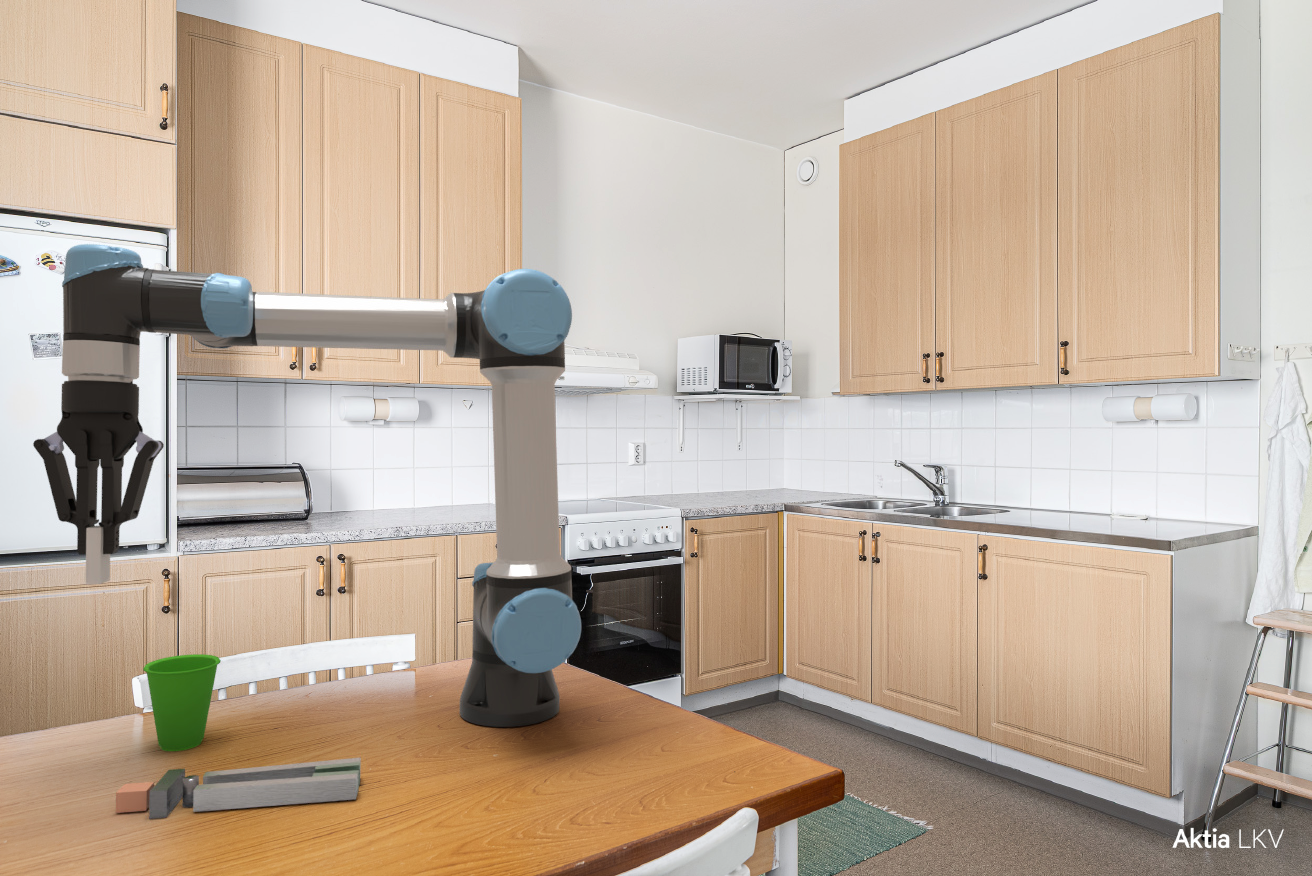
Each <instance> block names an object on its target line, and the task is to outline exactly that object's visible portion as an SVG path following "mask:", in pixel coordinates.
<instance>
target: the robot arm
mask: <svg viewBox="0 0 1312 876" xmlns="http://www.w3.org/2000/svg"><path fill="white" fill-rule="evenodd" d="M64 261H65V264H64V275H63V280H62V283H61V286H62V290H63V291H62V292H63V293H62V295H63V297H62V298H63V301H62V308H63V311H62V312H63V313H62V315H63V317H62V318H63V326H62V327H63V329H62V330H63V334H62V336H63V337H62V338H63V339H62V340H63V341H62V354H61V355H62V357H61V358H62V359H61V374H62V375H63V376H64V377H67V379H68V380H64V381H63V383H61V419H60V421H59V423H58V424H57V426H56V431H55V432H53V433H52V434H50V435H48V436H47V437H45V438H37V439H35V440H34V441H33V444H32V446H33V447H34V449H35V451H36V452H37V453H38V454H39V456H40V457H41V458H42V461H43V464H44V467H45V471H46V476H47V480H48V484H49V488H50V491H51V495H52V500H53V502H54V506H55V510H56V514H57V517H58V520H59V521H60V522H62V523H63V522H66V523H69V524H72V525H74V526H75V528H76V529H77V533H76V534H77V536H76V537H77V538H76V539H77V540H76V541H77V542H76V545H77V546H76V548H77V549H76V550H77V553H78V555H79V556H80V555H82V556H83V555H85V585H101V584H104V583H107V582H109V581H110V580H111V555H113V554H116V553H119V552H118V551H119V550H120V528H121V525H122V524H123V523H127V522H129V521H133V520H135V519H136V520H137V518H138V516H139V514H140V510H141V506H142V502H143V500H144V496H145V492H146V490H147V489H146V488H147V486H148V482H149V479H150V476H151V471H152V469H153V465H154V463H155V462H154V461H155V459H156V458H157V457H158V455H159V454H160V453H161V451H162V450H163V449H164V442H163V441H162V440H155V439H153V438H152V437H151V436H148V435H147V434H146V433H144V430H143V426H142V424H141V423H140V420H139V413H140V412H139V411H140V405H139V404H140V387H139V386H138V384H137V383H134V380H137V379H139V377H140V355H141V354H140V352H141V351H140V350H141V349H140V347H141V346H140V345H141V341H140V338H141V333H142V332H144V333H145V332H146V333H151V334H152V333H153V334H156V333H157V334H159V333H161V334H174V335H187V336H191V337H192V338H193V340H195V341H196V342H197V343H199V344H201V345H202V346H204V347H208V348H211V349H228V348H232V347H274V348H275V347H278V348H280V347H281V348H282V347H283V348H316V349H317V348H321V349H356V350H357V349H364V350H365V349H366V350H399V351H400V350H403V351H405V350H406V351H407V350H408V351H409V350H410V351H443V352H444V353H445V354H447V356H448V357H449V358H452V359H455V358H457V359H459V358H460V359H474V360H479V372H480V374H481V375H482V376H483V377H484V378H485V379H486V380H487V381H489V383H490V385H491V404H492V405H491V406H492V432H493V433H492V435H493V463H494V464H493V466H494V471H493V472H494V494H495V495H494V496H495V497H494V499H495V500H494V502H495V527H496V528H495V530H496V531H495V534H496V559H495V561H494V562H482V563H479V564H478V565H477V566H476V567H475V568H474V572H473V580H472V583H471V585H472V587H473V596H472V597H473V601H472V605H473V606H472V608H473V609H472V657H471V658H472V659H471V660H472V661H471V665H470V667H469V671H468V673H467V676H466V680H465V683H464V686H463V688H462V692H461V694H460V697H459V716H460V717H461V718H462V719H464V721H467V722H469V723H472V724H475V725H478V726H480V725H481V726H484V727H494V728H512V727H514V728H515V727H522V726H529V725H533V724H539V723H542V722H545V721H548V720H551V718H554V717H555V716H556V715H557V714H558V713H559V712H560V698H561V697H560V692H559V690H558V685H557V682H556V679H555V676H554V673H553V670H554V669H556V668H557V667H560V665H562V664H563V663H564V662H566V660H567V659H568V658H570V657H571V655H572V654H573V653H574V651H575V650H576V648H577V647H578V643H580V642H579V641H580V638H581V633H582V619H581V615H580V612H579V610H578V606H577V604H576V603H575V601H574V600H573V586H572V584H573V582H572V566H571V564H569V562H568V561H566V560H565V559H564V558H563V557H562V555H561V553H560V551H561V549H560V548H561V547H560V524H559V523H560V517H559V514H560V513H559V486H558V482H559V481H558V455H557V454H558V452H557V449H558V448H557V424H556V423H557V421H556V420H557V418H556V416H557V415H556V388H555V387H556V386H555V384H556V382H557V381H558V379H559V378H560V377H561V376H562V375H563V374H564V373H565V371H566V355H565V354H566V353H565V351H566V348H565V340H566V339H567V337H568V335H569V333H570V329H571V325H572V321H573V310H572V305H571V302H570V298H569V296H568V294H567V292H566V290H565V289H564V288H563V286H562V285H561V284H559V282H558V281H557V280H555V279H554V278H553V277H552V276H551V275H548V274H547V273H545V272H542V271H540V270H537V269H532V268H518V269H514V270H510V271H508V272H504V273H502V274H500V275H498V276H496V277H495V278H494V279H492V281H490V283H488V285H487V287H486V288H485V290H481V291H480V290H479V291H475V292H463V293H461V292H449V294H447V296H445V297H444V298H442V299H441V298H439V299H438V298H416V297H413V298H412V297H392V296H373V295H371V296H368V295H346V294H345V295H344V294H343V295H341V294H320V293H319V294H318V293H299V292H296V293H295V292H275V291H274V292H272V291H253V286H252V284H251V282H250V281H249V279H247V278H246V277H243V276H238V275H229V274H224V273H222V272H215V273H210V272H209V273H205V272H195V271H194V272H193V271H191V272H189V271H178V270H177V271H175V270H174V271H173V270H162V269H161V270H160V269H154V268H152V269H150V268H148V267H144V265H143V264H142V258H141V256H140V254H139V253H138V252H136V251H135V250H134V251H133V250H131V249H129V248H123V247H120V246H111V245H105V244H95V243H93V244H92V243H89V244H88V243H85V244H78V245H74V246H71V247H70V248H68V250H67V251H66V254H65V260H64ZM135 444H136V446H135V451H136V452H137V454H136V456H135V459H134V461H133V465H132V467H131V468H132V469H131V473H130V475H129V479H128V482H127V486H126V488H125V493H124V497H123V498H122V491H123V482H122V481H123V467H124V464H125V462H124V461H125V456H126V455H127V454H128V452H129V451H130V450H131V449H132V447H134V445H135ZM65 445H66V447H67V448H68V449H69V450H70V452H71V453H72V454H73V455H74V466H75V469H76V493H75V491H74V488H73V484H72V480H71V475H70V472H69V468H68V464H67V460H66V456H65V454H64V453H63V452H64V450H65ZM99 467H100V468H101V506H100V508H101V509H100V510H101V511H100V513H101V514H100V518H101V519H100V518H99V519H97V516H98V515H97V514H98V509H97V508H98V473H99V472H98V471H99ZM75 494H76V495H75ZM122 499H123V500H122Z"/></svg>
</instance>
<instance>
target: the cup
mask: <svg viewBox="0 0 1312 876" xmlns="http://www.w3.org/2000/svg"><path fill="white" fill-rule="evenodd" d="M220 663H221V659H220V657H218V656H216V655H213V654H204V653H203V654H199V653H196V654H182V655H173V656H168V657H167V656H166V657H163V658H158V659H155V660H153V661H150V662H148V663H146V664H145V665H144V666H143V671H144V672H145V673H146V676H147V681H148V688H149V689H148V690H149V695H150V702H151V707H152V713H153V719H154V724H155V725H154V726H155V730H156V737H157V743H158V746H159V749H160V750H162V751H165V752H180V751H186V750H187V751H188V750H190V749H193V748H196V747H198V746H200V745H201V744H202V741H203V740H204V738H205V733H206V728H207V723H208V716H209V711H210V707H211V701H212V695H213V691H214V685H215V681H216V680H215V679H216V674H217V670H218V669H217V668H218V665H220Z"/></svg>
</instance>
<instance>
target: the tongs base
mask: <svg viewBox="0 0 1312 876" xmlns="http://www.w3.org/2000/svg"><path fill="white" fill-rule="evenodd" d="M359 786H360V785H359V770H354V771H339V772H325V773H313V776H312V777H301V778H287V779H273V780H259V781H245V782H231V783H217V784H203V783H202V784H200V776H199V775H198V774H191V775H187V776H186V768H176V769H175V768H173V769H168V770H167V771H166V772H165V774H164V775H163V776H162V777H161V778H160V779H159V781H157V782H156V784H154V787H153V788H152V789H151V790H150V802H149V808H148V810H149V811H148V814H149V815H148V819H149V820H154V819H164V818H165V819H166V818H168V816H170V814H171V812H172V811H173V810H174V809H175V808H176V806H177V805H178V804H179V803H180V801H181V800H182V801H181V802H182V803H181V804H182V805H181V807H182V808H187V809H188V808H192V812H193V813H194V812H195V813H196V812H209V811H222V810H223V811H224V810H231V809H232V810H233V809H234V810H235V809H247V808H248V809H249V808H258V807H259V808H260V807H271V806H272V807H273V806H284V805H285V806H286V805H288V806H289V805H298V804H308V803H309V804H310V803H311V804H312V803H325V802H338V801H347V800H348V801H352V800H357V796H358V792H359Z"/></svg>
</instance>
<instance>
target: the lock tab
mask: <svg viewBox="0 0 1312 876" xmlns="http://www.w3.org/2000/svg"><path fill="white" fill-rule="evenodd" d="M155 782H156V781H147V782H146V781H145V782H132V783H124V784H123V785H122V786H121V787H120V788H119V789H118V790H117V791H116V792H115V814H119V813H131V812H133V813H134V812H143V811H145V812H146V811H147V810H149V802H150V790H151V789H152V788H153V787H154V786H155Z"/></svg>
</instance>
